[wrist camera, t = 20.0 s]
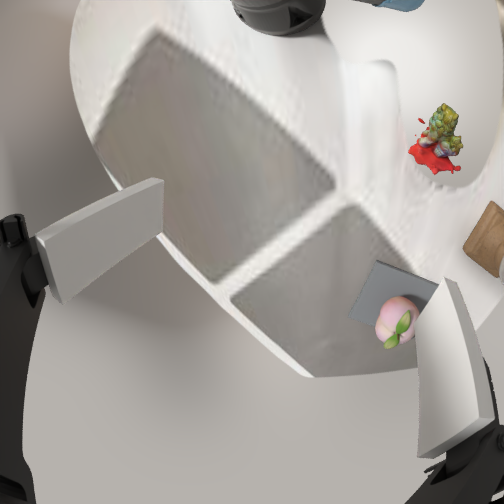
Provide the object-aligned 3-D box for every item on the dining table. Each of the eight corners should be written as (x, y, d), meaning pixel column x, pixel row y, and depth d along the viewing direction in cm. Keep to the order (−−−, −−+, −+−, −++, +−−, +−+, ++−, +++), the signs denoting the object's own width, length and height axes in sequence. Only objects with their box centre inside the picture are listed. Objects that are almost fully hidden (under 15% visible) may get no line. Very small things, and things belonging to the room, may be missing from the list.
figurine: (423, 127, 35) (460, 90, 24) (449, 180, 34) (495, 153, 22) (390, 131, 35) (426, 88, 23) (418, 189, 34) (466, 158, 22)
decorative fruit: (408, 324, 48) (411, 360, 39) (372, 318, 50) (370, 355, 42) (422, 287, 43) (431, 322, 35) (383, 280, 46) (385, 315, 38)
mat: (348, 314, 53) (348, 317, 52) (376, 259, 45) (376, 262, 45) (411, 336, 49) (411, 339, 49) (445, 287, 42) (446, 289, 41)
